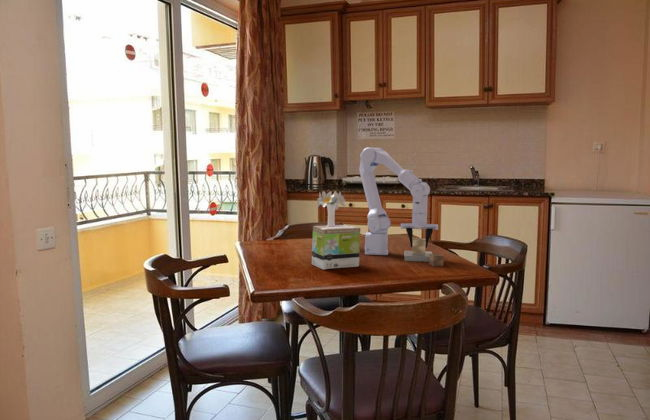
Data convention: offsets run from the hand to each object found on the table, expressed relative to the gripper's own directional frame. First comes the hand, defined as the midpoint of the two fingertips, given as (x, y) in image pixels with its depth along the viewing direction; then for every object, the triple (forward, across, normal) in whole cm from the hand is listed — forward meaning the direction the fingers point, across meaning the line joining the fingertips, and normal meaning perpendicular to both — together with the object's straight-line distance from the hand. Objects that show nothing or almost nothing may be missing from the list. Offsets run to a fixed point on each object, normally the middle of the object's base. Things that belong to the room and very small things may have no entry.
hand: (418, 247), depth 200 cm
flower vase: (+5, -38, +21) cm, 44 cm away
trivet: (+5, 0, 0) cm, 5 cm away
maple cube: (+2, 0, 0) cm, 2 cm away
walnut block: (+5, +6, -11) cm, 13 cm away
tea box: (+5, -31, -19) cm, 37 cm away
